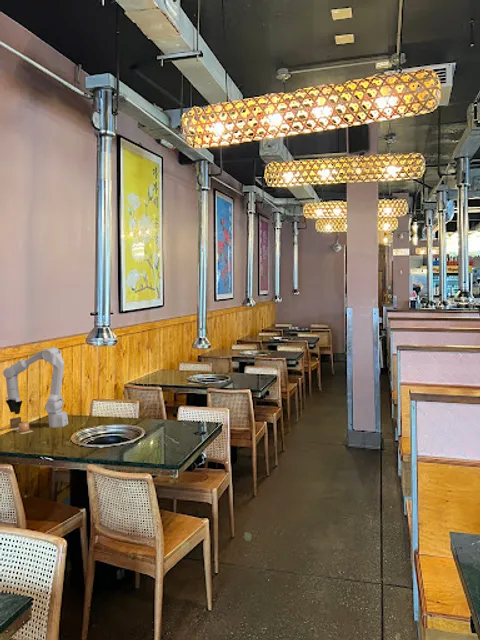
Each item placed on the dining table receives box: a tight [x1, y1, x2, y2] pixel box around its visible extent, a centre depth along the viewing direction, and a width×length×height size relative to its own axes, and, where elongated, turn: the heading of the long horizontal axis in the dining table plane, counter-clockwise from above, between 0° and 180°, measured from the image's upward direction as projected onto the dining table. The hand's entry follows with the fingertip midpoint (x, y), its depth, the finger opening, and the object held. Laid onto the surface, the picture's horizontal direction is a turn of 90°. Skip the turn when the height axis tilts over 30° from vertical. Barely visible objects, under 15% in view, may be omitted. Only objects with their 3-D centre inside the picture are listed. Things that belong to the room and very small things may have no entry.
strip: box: [9, 416, 34, 435], centre depth 264 cm, size 20×6×6 cm, turn 42°
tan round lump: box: [18, 421, 30, 432], centre depth 260 cm, size 5×5×4 cm
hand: (15, 413), depth 269 cm, fingers open, 7 cm apart
